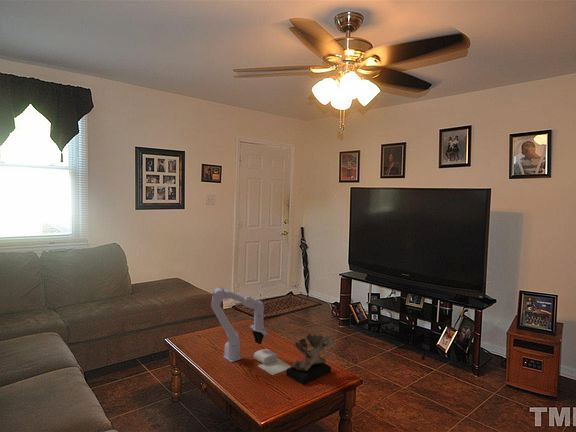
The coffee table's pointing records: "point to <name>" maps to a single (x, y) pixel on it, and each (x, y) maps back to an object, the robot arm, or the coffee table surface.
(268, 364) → the mat
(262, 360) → the photo printer
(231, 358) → the robot arm
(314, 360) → the coral
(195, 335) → the coffee table surface
